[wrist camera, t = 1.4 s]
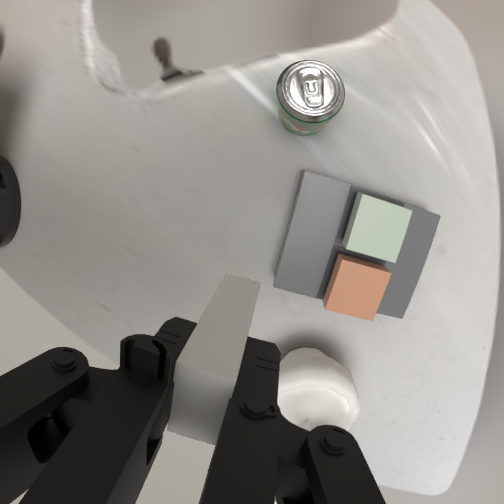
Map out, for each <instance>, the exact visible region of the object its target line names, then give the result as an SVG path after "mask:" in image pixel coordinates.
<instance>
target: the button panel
mask: <svg viewBox="0 0 504 504" xmlns="http://www.w3.org/2000/svg"><path fill="white" fill-rule="evenodd" d="M357 192H359V193H362V194H365V195H369V196H372V197H375V198H378V199H381V200H384V201H387V202H390V203H392V204H395V205H398V206H401V207H404V208H407V209H409V210H411V211H412V214H411V218H410V221H409V224H408V227H407V230H406V234H405V237H404V240H403V243H402V246H401V248H400V251H399V254H398V257H397V260H396V263H393V262H390V261H386V260H383V259H379V258H376V257H372V256H369V255H365V254H362V253H358V252H355V251H351V250H348V249H346V248H345V247H344V245H343V244H342V242H343V239H344V236H345V232H346V229H347V226H348V223H349V219H350V216H351V213H352V209H353V206H354V202H355V199H356V195H357ZM439 219H440V215H438V214H435V213H432V212H430V211H427V210H424V209H422V208H419V207H416V206H414V205H411V204H408V203H405V202H403V201H400V200H397V199H394V198H391V197H388V196H385V195H382V194H379V193H377V192H374V191H370V190H367V189H364V188H361V187H358V186H355V185H352V184H349V183H345V182H342V181H339V180H336V179H332V178H329V177H325V176H322V175H319V174H315V173H312V172H308V171H304V170H303V172H302V176H301V180H300V183H299V187H298V191H297V195H296V198H295V202H294V206H293V209H292V213H291V217H290V220H289V224H288V228H287V231H286V235H285V238H284V242H283V246H282V249H281V253H280V256H279V260H278V263H277V267H276V270H275V274H274V283H273V287H275V288H279V289H283V290H287V291H290V292H294V293H298V294H302V295H306V296H310V297H314V298H318V299H322V300H323V299H324V296H325V293H326V290H327V287H328V284H329V281H330V279H331V276H332V273H333V270H334V267H335V264H336V261H337V258H338V254H343V255H347V256H350V257H354V258H357V259H361V260H364V261H368V262H371V263H375V264H379V265H382V266H386V268H387V269H388V270H389V271H390V272H391V273H392V274H391V276H390V279H389V282H388V284H387V287H386V289H385V292H384V294H383V297H382V299H381V302H380V304H379V307H378V309H377V312H376V313H380V314H384V315H388V316H392V317H397V318H401V319H402V318H403V316H404V314H405V311H406V309H407V307H408V304H409V302H410V300H411V297H412V295H413V292H414V290H415V287H416V285H417V282H418V280H419V277H420V275H421V272H422V269H423V267H424V264H425V261H426V259H427V256H428V253H429V250H430V247H431V244H432V241H433V238H434V235H435V232H436V229H437V226H438V223H439Z"/></svg>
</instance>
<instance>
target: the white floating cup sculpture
mask: <svg viewBox="0 0 504 504" xmlns="http://www.w3.org/2000/svg"><path fill="white" fill-rule="evenodd" d="M277 403H278V406H279V407H280V411H281V414H282V415H283V416H284V417H285V418H286V419H287V420H288V421H290V422H291V423H293V424H295V425H297V426H299V427H301V428H303V429H306V430H308V431H311V430H312V429H314V428H315V427H317V426H320V425H325V424H327V425H335V426H338V427H340V428H343V429H345V430H346V431H348V432H350V431H351V430H353V428H354V426H355V424H356V422H357V420H358V418H359V416H360V413H361V411H362V410H361V406H360V403H359V399H358V395H357V391H356V387H355V384H354V381H353V378H352V375H351V372H350V370H348V369H347V368H345V367H344V366H342V365H341V364H339V363H338V362H337V361H335V360H334V359H332V358H329V357H328V356H327V355H325V354H324V353H323V352H321V351H320V350H318V349H316V348H307V347H302V348H299V349H296V350H293V351H290V352H289V353H288V354H287V355H286V356H285V357H284V358H283V359H282V360H281V361H280V371H279V385H278V399H277ZM274 504H277V502H276V498H275V503H274Z"/></svg>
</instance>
